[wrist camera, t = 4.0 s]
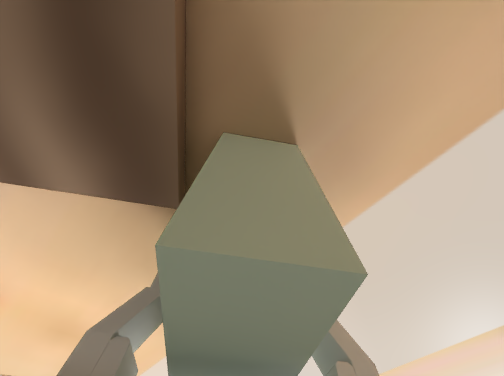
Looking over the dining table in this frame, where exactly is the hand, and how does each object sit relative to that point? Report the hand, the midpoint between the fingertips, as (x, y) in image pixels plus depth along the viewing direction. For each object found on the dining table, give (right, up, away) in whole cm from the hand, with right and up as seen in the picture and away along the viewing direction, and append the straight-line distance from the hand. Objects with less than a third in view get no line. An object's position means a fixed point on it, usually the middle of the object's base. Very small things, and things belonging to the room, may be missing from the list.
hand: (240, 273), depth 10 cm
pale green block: (0, +2, +4) cm, 4 cm away
